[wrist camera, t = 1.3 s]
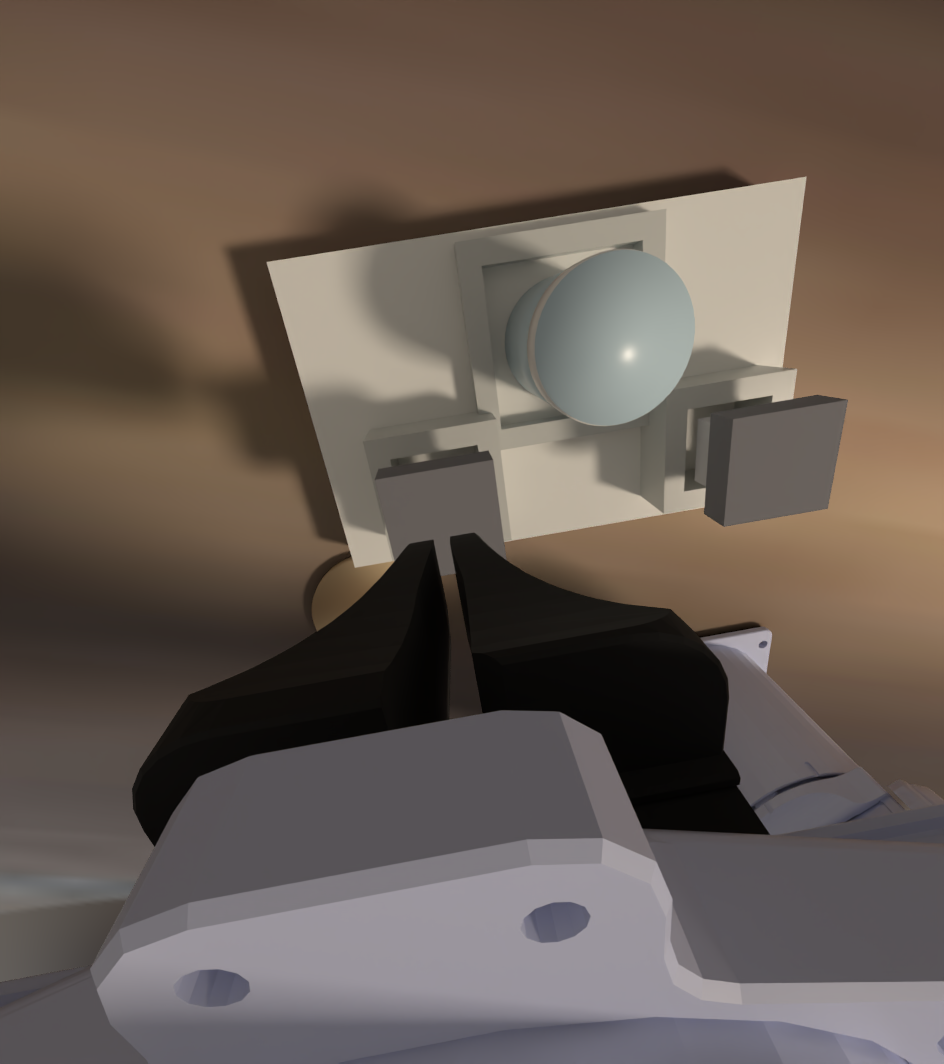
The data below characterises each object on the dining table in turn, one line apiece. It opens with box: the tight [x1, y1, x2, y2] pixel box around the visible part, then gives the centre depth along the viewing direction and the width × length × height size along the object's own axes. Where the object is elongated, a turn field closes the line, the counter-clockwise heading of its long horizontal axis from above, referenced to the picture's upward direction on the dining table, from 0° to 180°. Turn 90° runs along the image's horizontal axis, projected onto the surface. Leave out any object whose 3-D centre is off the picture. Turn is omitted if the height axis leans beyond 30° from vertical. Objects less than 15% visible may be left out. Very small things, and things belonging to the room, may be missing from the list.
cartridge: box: [505, 249, 695, 426], centre depth 15 cm, size 4×4×6 cm
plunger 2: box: [694, 395, 848, 527], centre depth 16 cm, size 4×4×3 cm
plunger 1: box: [375, 451, 506, 576], centre depth 16 cm, size 4×4×3 cm
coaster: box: [312, 557, 394, 631], centre depth 23 cm, size 6×6×1 cm
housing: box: [267, 177, 806, 568], centre depth 18 cm, size 12×19×4 cm, turn 98°
